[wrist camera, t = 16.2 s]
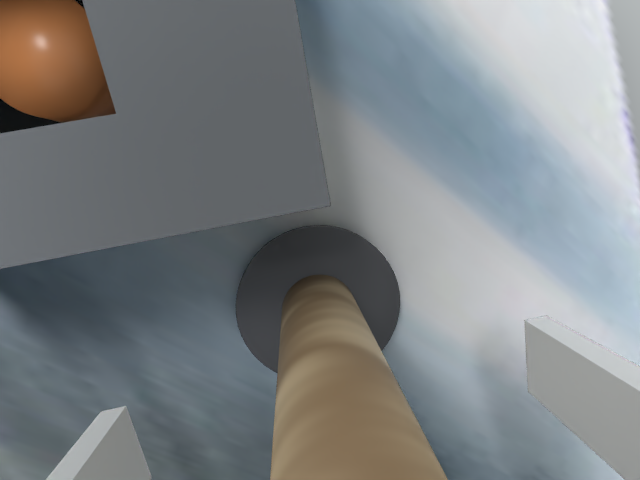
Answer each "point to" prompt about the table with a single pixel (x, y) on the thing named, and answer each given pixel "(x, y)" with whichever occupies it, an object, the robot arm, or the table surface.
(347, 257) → the pad
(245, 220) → the box
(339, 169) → the table surface
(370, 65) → the table surface
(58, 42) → the breaker button
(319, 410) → the stylus
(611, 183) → the table surface
